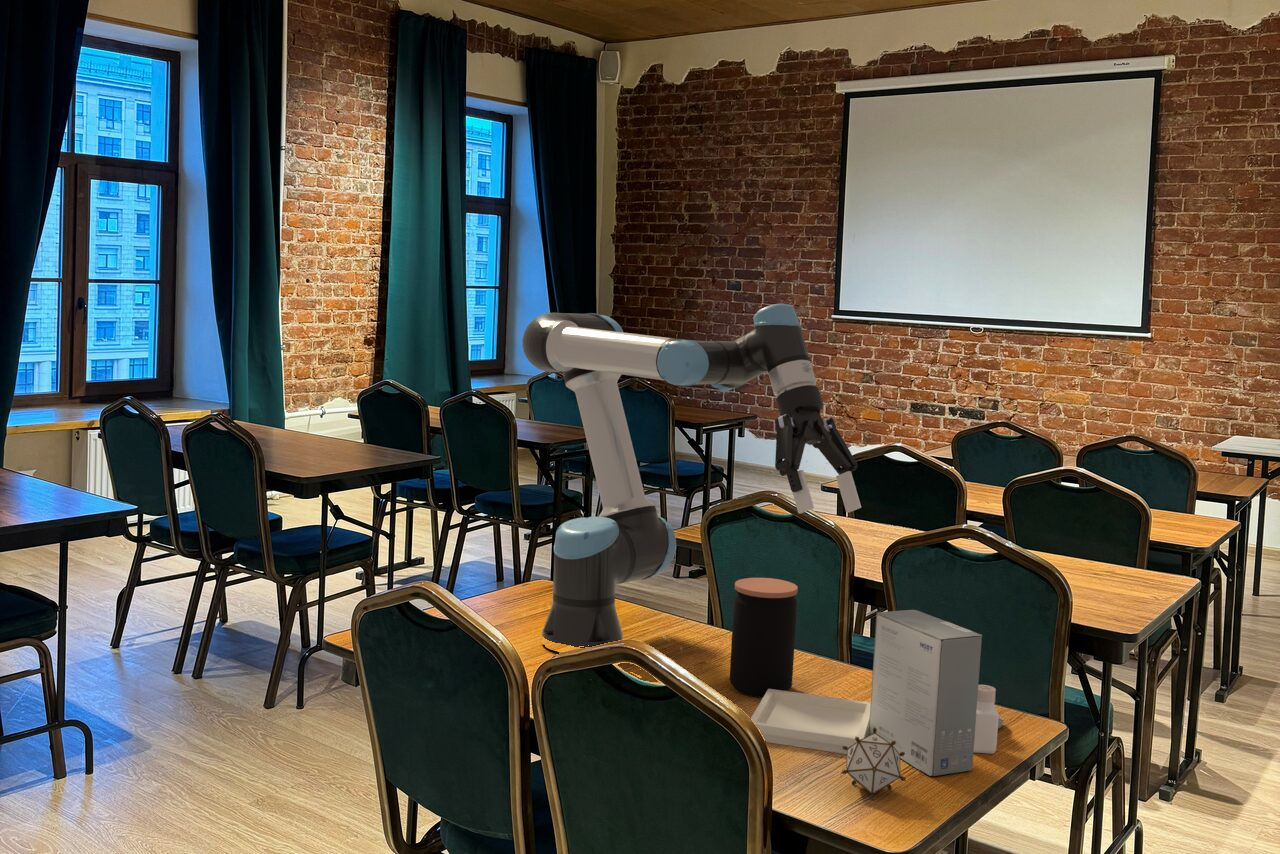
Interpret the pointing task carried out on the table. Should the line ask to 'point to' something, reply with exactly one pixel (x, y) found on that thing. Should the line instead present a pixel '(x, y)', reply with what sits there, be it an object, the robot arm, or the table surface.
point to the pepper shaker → (986, 721)
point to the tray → (811, 720)
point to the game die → (873, 763)
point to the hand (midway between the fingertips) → (830, 510)
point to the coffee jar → (763, 635)
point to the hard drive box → (926, 690)
